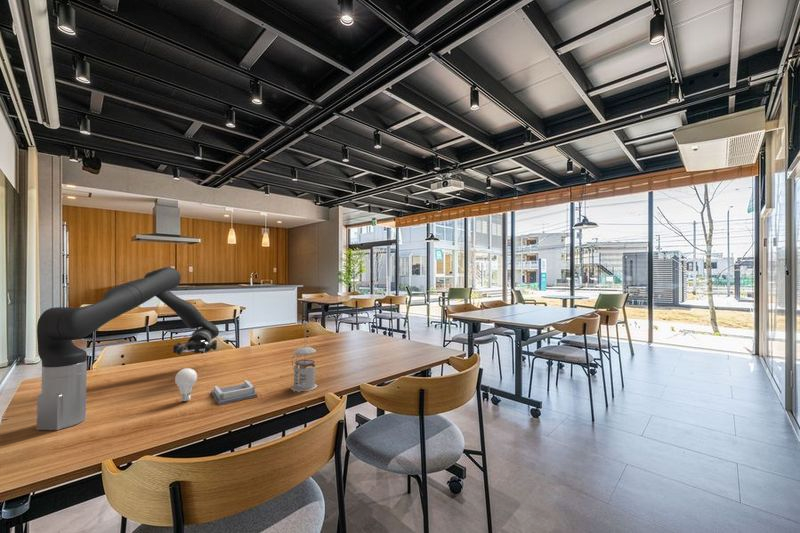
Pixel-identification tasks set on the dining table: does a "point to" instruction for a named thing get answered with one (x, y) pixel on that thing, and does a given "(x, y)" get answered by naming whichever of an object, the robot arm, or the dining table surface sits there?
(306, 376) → the french press
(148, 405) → the dining table surface
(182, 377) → the lightbulb
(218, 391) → the u holder
